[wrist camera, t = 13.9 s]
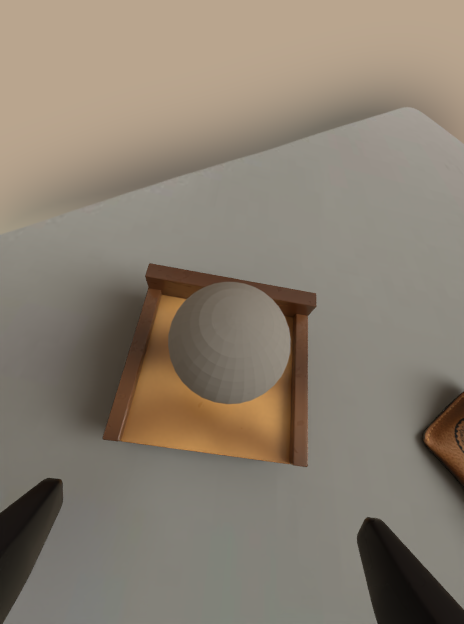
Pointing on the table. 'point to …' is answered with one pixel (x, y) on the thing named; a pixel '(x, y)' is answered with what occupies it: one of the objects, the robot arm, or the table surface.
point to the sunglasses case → (449, 438)
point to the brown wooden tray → (201, 412)
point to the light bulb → (229, 342)
